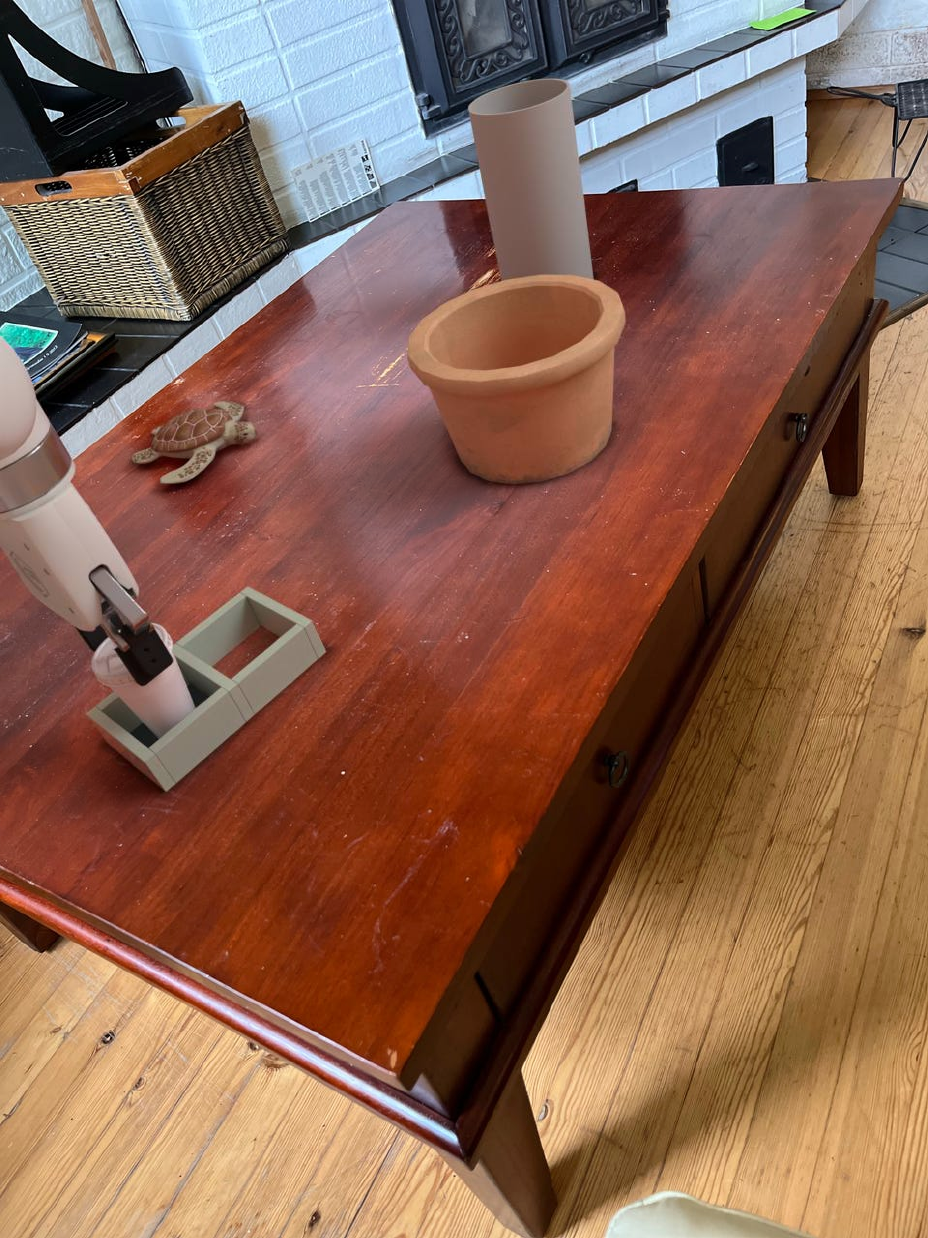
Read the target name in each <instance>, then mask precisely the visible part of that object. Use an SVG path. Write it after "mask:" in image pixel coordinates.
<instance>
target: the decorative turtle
mask: <svg viewBox="0 0 928 1238" xmlns="http://www.w3.org/2000/svg"><path fill="white" fill-rule="evenodd" d="M213 406H214V408H195V409H192V410H187V411H185V412H181V413H180V414H178V415H176V416H174V417H172V418H171V419H169V420H168V421H167V422H166V423H165V424H164V425H160V426H159V425H158V426H156V427H155V428H153V429H152V430H151V431H150V434H151V435H153V439H152V441H151V444H150V447H148V448H145V449H143V450H140V451H136V452H135V453H134V454H133V455H132V457H131V460H132V462H133V463H135V464H140V465H141V464H142V465H144V464H148V463H151V462H153V461H155V460H157V459H158V458H160V457H168V458H171V459H172V458H175V459H189V460H188V461H187V462H186V463H185V464H184V465H183V466H180V467H179V468H177V469H175V470H172V471H170V472H167V473H166V474H164V475H163V476H161V477H160V478H159V483H161V484H163V485H172V484H173V485H174V484H181V483H185V482H188V481H190V480H192V479H194V478H195V477H197V476H198V475H199V474H200V473H202V471H204V469H206V467H208V466H209V465H210V464H211V462H212V461H213V460H214V459H215V457H216V452H219V451H221V450H223V449H224V448H227V447H229V446H231V445H233V444H235V445H244V444H248V443H250V442H252V441H254V440H255V439H256V438H257V436H258V430H257V428H256V427H255V426H254V425H253V423H252V422H250V421H240V420H241V418H242V416H243V414H244V410H245V408H244V406H243V405H242V404H240V403H238V402H235V401H217V402H214V403H213Z"/></svg>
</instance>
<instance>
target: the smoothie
mask: <svg viewBox="0 0 928 1238" xmlns="http://www.w3.org/2000/svg"><path fill="white" fill-rule="evenodd" d="M151 623H152V625H153V626H154V628H155V630H156V631H157V633H158V635H159V636H160V638H161V640H162V641H163V643H164V644H165V646H166V648H167V649H168V651H169V653H170V654H171V656H172V657H173V663H172V665H170V666H169V667H168V668H167V669H165V670H164V671H163V672H162V673H160V674H159V675H158V676H157V677H155V678H154V679H153V680H152V681H150V682H149V683H148V684H147V685H145V686H140V685H139V684H137V683H136V682H135V680H134V679H133V677H132V676H131V674H130V673H129V671H128V670H127V668H126V667H125V665H124V664H123V662H122V661H121V659H120V658H119V656H118V655H117V653H116V652H115V650H114V649H115V648H116V647H118V646H117V645H116V644H115V643H114V641H113V640H112V639H111V638H110V636H109V635H108V634H107V635H108V636H109V637H108V638H107V639H105V640H104V641H103V642H102V643H101V644H100V646H99V647H98V648H97V649H96V651H95V652H94V653H93V655H92V657H91V660H90V669H91V671H92V673H93V674H94V676H95V678H96V680H97V681H98V682H99V683H100V684H101V685H104V686H105V687H109V688H110V689H111V690H112V692H115V693H116V694H117V695H118V696H119V697H120V698H121V699H122V700H123V702H124V703H125V704H126V705H127V706H128V707H129V708H130V709H131V710H132V711H133V712H134V713H135V714H136V715H137V716H138V717H139V718H140V719H141V721H142V722H143V723H144V724H145V725H146V726H147V727H148V728H149V729H150V730H151V731H152V732H153V733H154V734H155V735H156V736H157V737H158V738H159V739H160V738H161V737H162V736H164V735H165V734H166V733H167V732H168V731H170V730H171V729H172V728H173V727H174V726H176V725H177V724H178V723H179V722H180V721H182V720H183V719H184V718H185V717H186V716H187V715H189V714H190V713H191V712H192V711H193V710H195V709H196V708H195V705H194V703H193V700H192V698H191V696H190V693H189V691H188V688H187V686H186V683H185V681H184V678H183V676H182V673H181V671H180V668H179V666H178V664H177V661H176V658H175V656H174V654H173V651H172V649H173V644H174V642H173V639H172V637H171V635H170V634H169V633H168V632H167V630H166V628H165V627H164V626H163V625H161V624H158V623H155V622H151ZM118 631H119V632H120V630H118ZM105 632H106V631H105Z"/></svg>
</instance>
